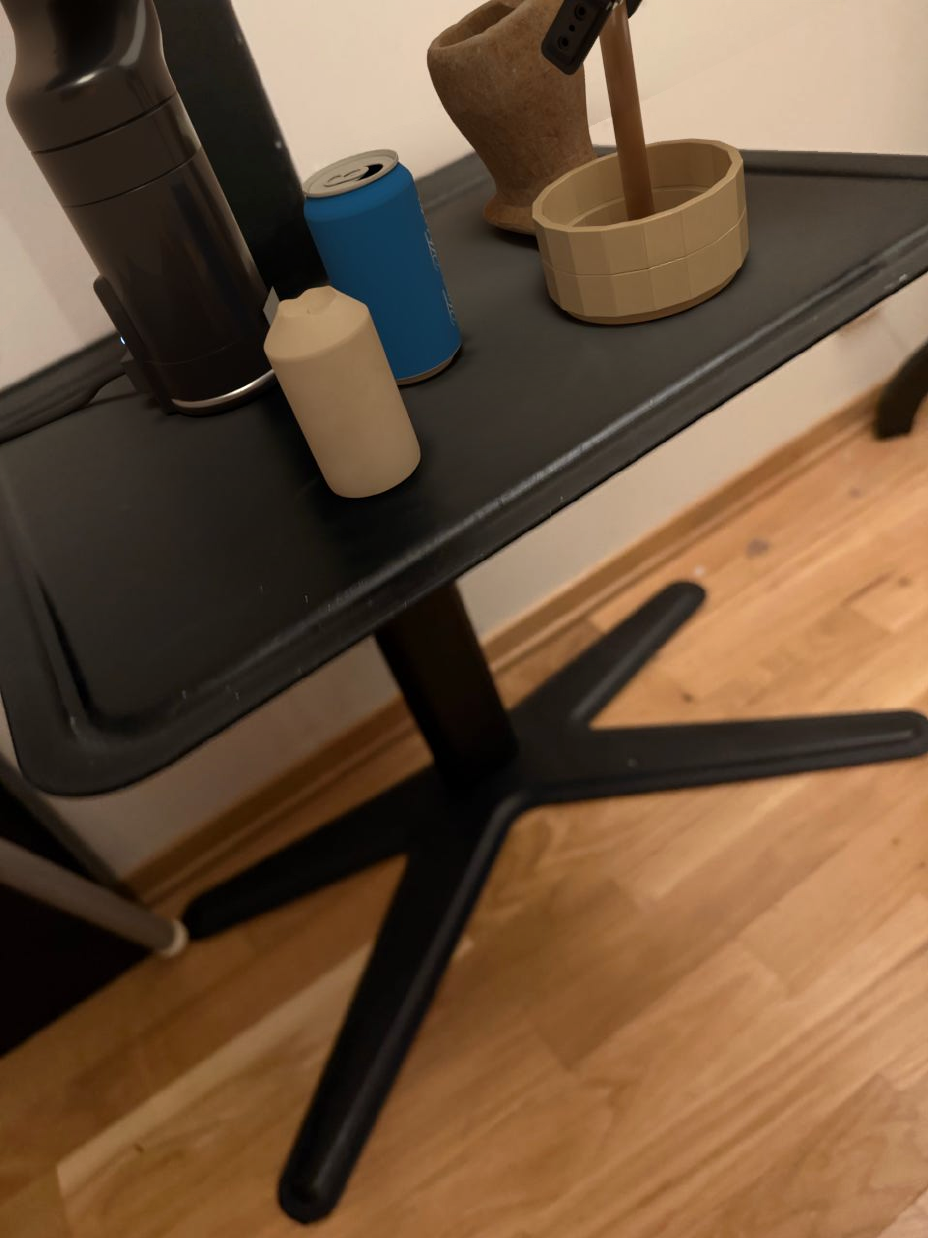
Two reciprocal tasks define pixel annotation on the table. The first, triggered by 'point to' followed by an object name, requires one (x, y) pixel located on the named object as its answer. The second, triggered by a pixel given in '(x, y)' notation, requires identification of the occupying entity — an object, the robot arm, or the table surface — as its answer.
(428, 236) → the beverage can
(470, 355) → the table surface
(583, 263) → the bowl
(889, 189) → the table surface
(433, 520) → the table surface
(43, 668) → the table surface
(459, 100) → the stone cup
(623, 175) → the wooden plunger
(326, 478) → the candle
